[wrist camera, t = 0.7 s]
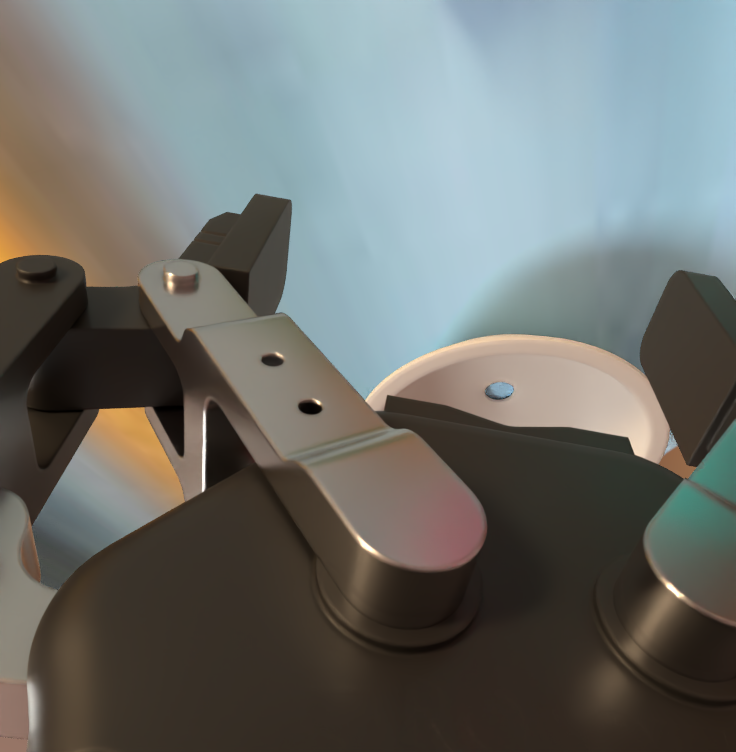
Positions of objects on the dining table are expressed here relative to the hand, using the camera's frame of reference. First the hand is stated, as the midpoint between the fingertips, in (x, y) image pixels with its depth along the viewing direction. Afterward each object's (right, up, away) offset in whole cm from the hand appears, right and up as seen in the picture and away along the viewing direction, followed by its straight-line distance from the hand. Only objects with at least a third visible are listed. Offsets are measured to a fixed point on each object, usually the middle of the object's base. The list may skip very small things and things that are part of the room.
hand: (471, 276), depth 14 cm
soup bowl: (+9, -3, +42) cm, 43 cm away
